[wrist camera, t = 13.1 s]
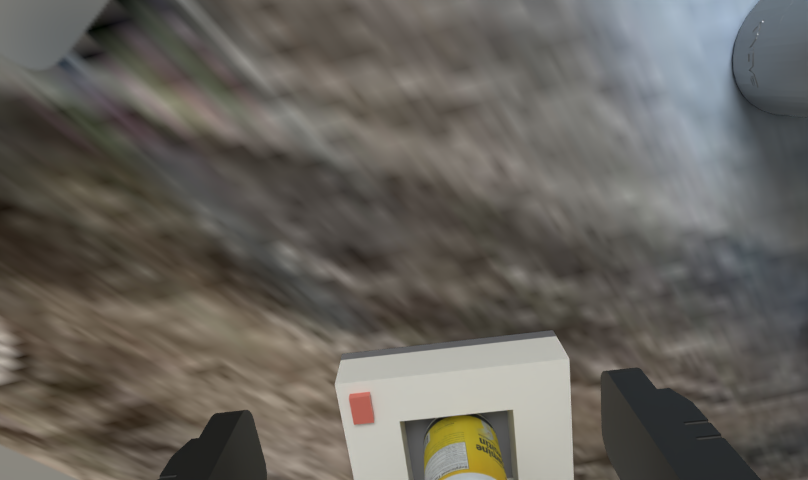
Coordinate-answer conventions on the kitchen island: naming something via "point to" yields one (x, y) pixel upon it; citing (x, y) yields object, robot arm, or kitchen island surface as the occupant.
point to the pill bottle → (462, 449)
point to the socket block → (459, 403)
